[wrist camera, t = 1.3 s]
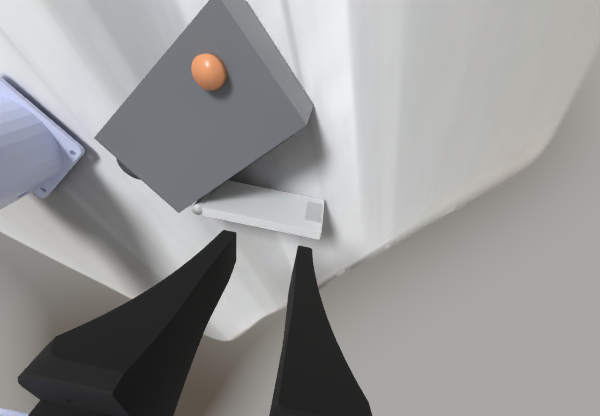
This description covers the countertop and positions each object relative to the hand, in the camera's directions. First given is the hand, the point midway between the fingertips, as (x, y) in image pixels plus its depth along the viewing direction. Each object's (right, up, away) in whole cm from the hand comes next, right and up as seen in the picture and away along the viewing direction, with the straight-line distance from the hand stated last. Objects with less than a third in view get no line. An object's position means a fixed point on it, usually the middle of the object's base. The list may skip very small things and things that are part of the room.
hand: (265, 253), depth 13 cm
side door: (-1, +4, +10) cm, 10 cm away
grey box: (-4, +9, +6) cm, 12 cm away
